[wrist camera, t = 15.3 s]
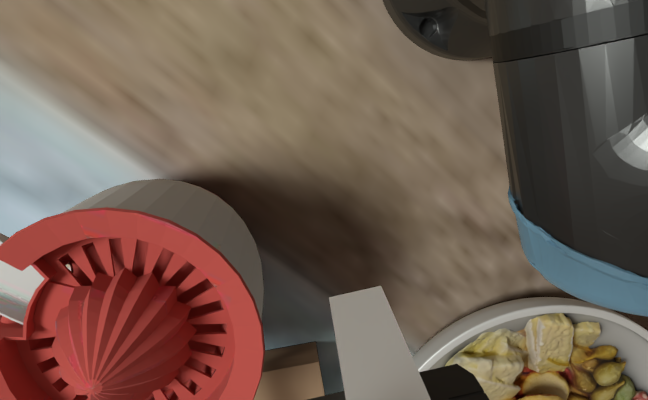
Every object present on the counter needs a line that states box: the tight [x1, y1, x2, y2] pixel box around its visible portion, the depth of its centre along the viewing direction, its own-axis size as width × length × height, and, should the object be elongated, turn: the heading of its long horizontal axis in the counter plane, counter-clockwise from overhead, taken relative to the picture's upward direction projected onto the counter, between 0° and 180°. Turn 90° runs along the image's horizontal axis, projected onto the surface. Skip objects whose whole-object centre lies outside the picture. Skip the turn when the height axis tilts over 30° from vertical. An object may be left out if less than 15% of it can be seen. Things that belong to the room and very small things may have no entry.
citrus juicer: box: [0, 179, 265, 400], centre depth 33 cm, size 16×17×20 cm
